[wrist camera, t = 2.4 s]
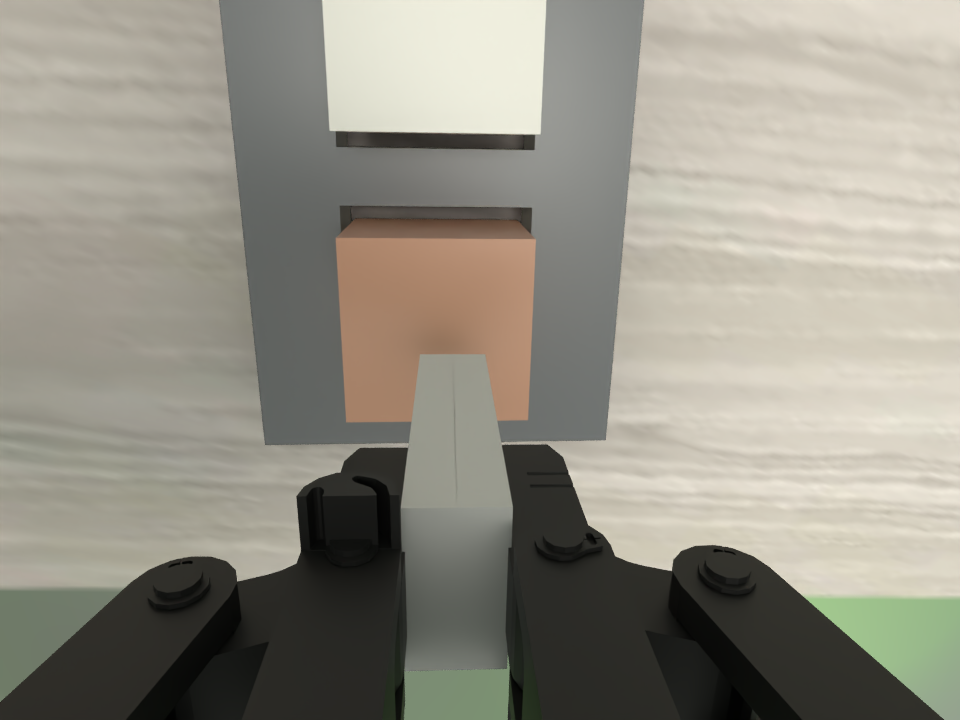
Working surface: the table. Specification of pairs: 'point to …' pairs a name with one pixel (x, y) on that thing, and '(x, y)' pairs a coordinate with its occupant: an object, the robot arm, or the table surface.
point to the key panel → (434, 183)
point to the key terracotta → (433, 308)
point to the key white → (435, 66)
